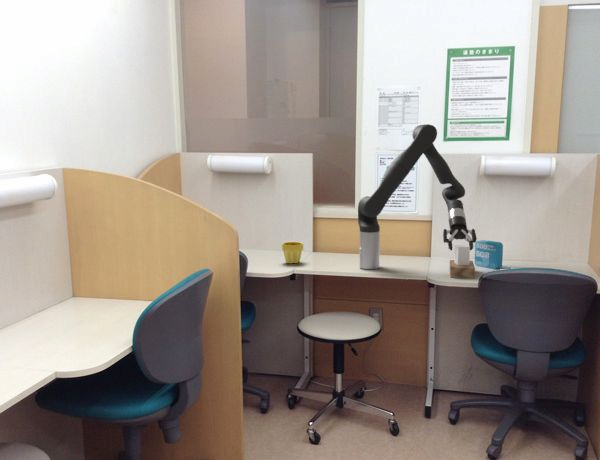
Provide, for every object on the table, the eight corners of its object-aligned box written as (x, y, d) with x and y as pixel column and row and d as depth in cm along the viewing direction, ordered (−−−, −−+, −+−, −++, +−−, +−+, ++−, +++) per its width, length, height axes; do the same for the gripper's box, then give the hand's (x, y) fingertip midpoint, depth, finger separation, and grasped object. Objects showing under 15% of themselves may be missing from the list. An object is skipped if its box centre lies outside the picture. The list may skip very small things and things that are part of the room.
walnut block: (450, 278, 253) (450, 267, 253) (449, 270, 269) (449, 259, 268) (474, 279, 251) (474, 268, 250) (472, 271, 267) (472, 260, 266)
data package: (474, 265, 277) (474, 240, 275) (479, 264, 280) (480, 239, 278) (496, 269, 268) (497, 243, 266) (502, 268, 270) (503, 242, 269)
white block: (457, 265, 256) (458, 247, 255) (454, 262, 262) (454, 245, 261) (469, 265, 256) (469, 247, 255) (465, 262, 262) (466, 244, 261)
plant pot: (303, 265, 283) (302, 245, 282) (281, 265, 284) (281, 245, 282) (303, 260, 293) (303, 241, 292) (283, 260, 294) (282, 241, 292)
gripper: (442, 215, 267) (446, 244, 258) (474, 215, 266) (479, 244, 257) (440, 225, 273) (443, 254, 264) (471, 225, 272) (476, 254, 263)
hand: (461, 249), depth 260 cm, fingers open, 8 cm apart
